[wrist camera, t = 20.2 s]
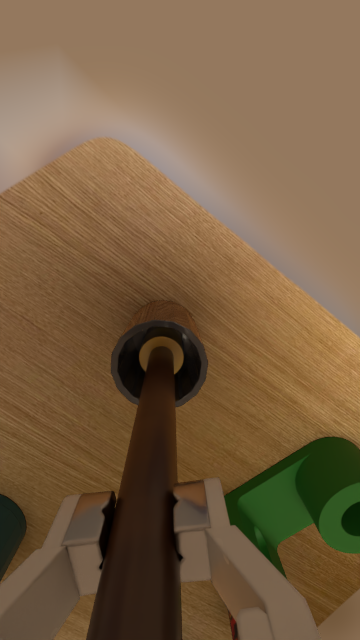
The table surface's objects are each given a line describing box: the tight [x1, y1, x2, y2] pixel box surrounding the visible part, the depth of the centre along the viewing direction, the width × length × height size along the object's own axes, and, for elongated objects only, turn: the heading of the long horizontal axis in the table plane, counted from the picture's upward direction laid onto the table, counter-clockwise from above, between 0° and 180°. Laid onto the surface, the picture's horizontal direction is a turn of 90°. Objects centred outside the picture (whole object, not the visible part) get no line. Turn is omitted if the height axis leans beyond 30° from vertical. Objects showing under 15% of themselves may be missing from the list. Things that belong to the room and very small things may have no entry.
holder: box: [111, 300, 208, 407], centre depth 24 cm, size 7×7×9 cm
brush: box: [86, 326, 184, 640], centre depth 14 cm, size 4×4×24 cm
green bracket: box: [224, 437, 360, 579], centre depth 30 cm, size 18×9×6 cm, turn 126°
